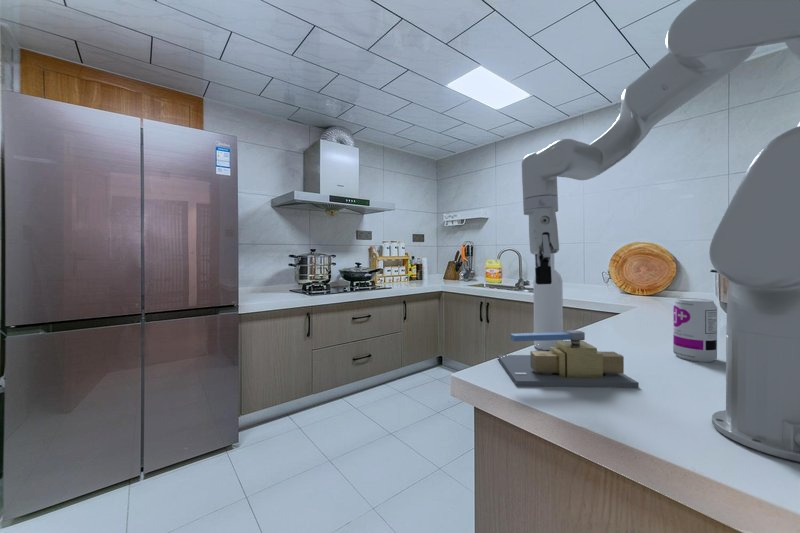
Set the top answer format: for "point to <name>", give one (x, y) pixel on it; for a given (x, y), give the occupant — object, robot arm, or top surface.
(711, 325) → the supplement can
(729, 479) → the top surface
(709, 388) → the top surface
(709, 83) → the robot arm
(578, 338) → the lever
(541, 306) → the bottle
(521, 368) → the base plate
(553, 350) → the valve
